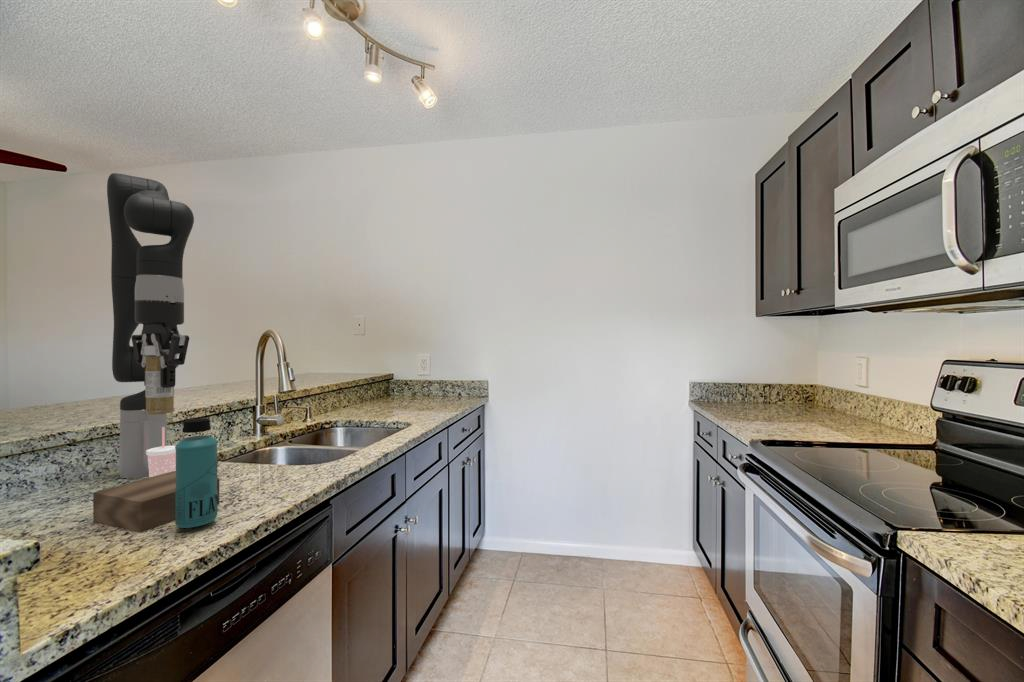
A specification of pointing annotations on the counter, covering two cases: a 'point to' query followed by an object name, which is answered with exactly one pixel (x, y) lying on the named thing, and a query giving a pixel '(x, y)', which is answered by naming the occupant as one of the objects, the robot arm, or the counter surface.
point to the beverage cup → (161, 458)
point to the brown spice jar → (156, 385)
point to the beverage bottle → (196, 476)
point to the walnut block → (138, 503)
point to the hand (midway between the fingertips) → (159, 386)
